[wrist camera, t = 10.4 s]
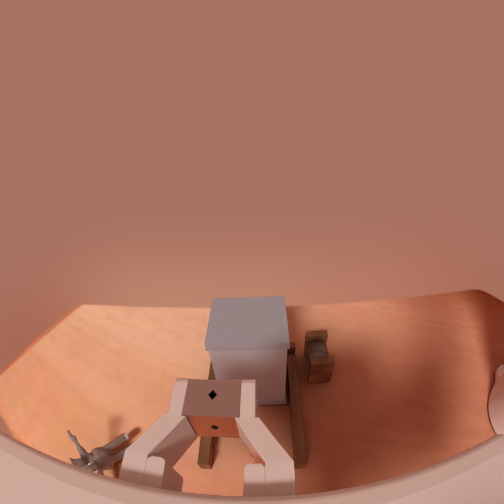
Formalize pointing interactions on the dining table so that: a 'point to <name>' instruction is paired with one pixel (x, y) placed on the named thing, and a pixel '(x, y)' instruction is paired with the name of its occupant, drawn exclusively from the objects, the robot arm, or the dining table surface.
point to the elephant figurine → (99, 455)
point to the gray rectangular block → (250, 343)
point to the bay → (317, 373)
